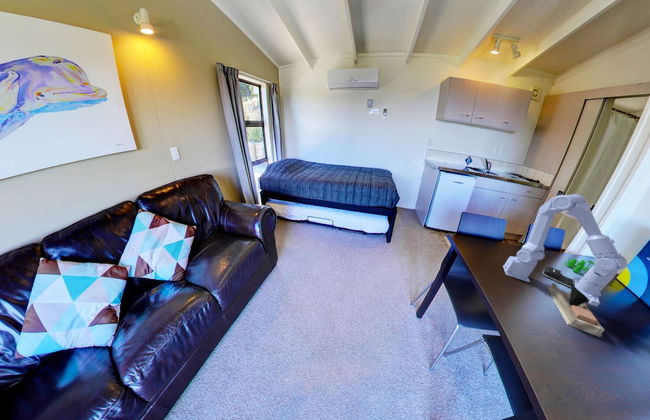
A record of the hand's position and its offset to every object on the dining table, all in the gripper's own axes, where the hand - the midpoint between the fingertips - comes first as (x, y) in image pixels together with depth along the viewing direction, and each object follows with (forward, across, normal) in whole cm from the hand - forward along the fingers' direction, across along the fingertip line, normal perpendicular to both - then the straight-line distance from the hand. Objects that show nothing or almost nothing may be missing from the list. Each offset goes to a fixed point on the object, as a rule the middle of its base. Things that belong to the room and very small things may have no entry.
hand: (572, 304), depth 86 cm
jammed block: (+1, -7, 0) cm, 7 cm away
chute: (+2, -1, 0) cm, 2 cm away
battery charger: (0, +19, -8) cm, 21 cm away
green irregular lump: (+3, +39, -18) cm, 43 cm away
